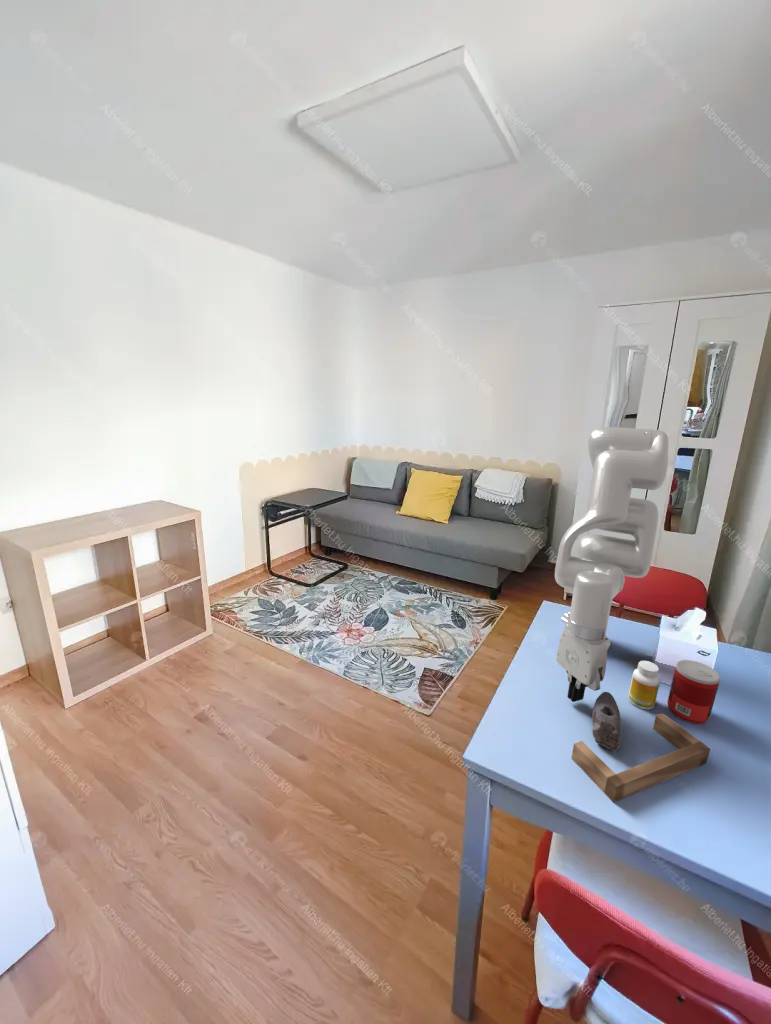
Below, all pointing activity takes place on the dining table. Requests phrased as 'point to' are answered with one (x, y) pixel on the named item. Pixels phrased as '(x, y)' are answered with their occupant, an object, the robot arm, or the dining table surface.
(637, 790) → the bay
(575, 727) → the dining table surface
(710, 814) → the dining table surface
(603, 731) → the perforated stone tool
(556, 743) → the dining table surface
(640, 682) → the supplement bottle
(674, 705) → the canned food
